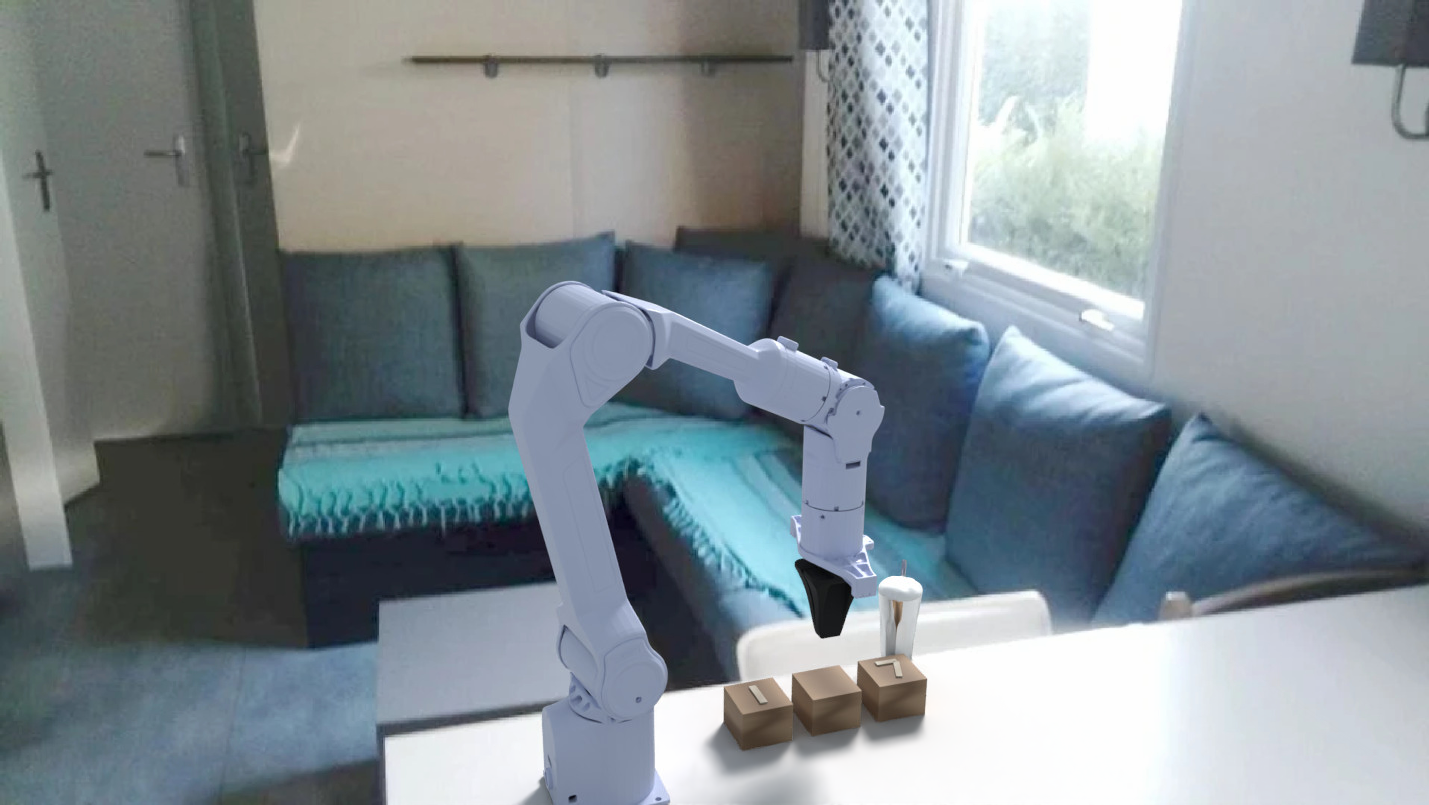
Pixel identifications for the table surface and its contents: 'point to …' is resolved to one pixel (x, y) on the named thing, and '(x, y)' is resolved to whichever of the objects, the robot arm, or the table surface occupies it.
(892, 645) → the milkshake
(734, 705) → the digit block one
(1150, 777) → the table surface
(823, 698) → the blank block
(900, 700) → the digit block seven
